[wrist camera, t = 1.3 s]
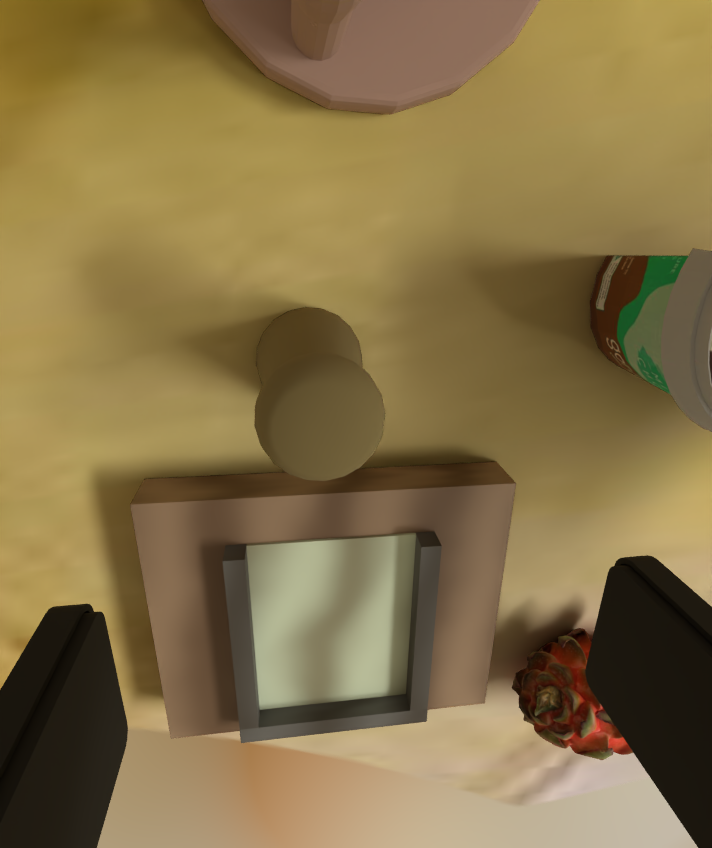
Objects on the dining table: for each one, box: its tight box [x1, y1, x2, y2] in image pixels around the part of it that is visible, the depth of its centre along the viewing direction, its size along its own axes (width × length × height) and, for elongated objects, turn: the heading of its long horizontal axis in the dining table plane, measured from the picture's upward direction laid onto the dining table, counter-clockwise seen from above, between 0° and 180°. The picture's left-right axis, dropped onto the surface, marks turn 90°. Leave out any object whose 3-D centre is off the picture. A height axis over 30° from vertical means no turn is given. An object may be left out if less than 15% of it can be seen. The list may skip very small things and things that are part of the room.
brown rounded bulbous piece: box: [255, 307, 385, 481], centre depth 24 cm, size 6×6×11 cm
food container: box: [590, 248, 712, 432], centre depth 26 cm, size 12×6×10 cm, turn 63°
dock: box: [130, 462, 516, 743], centre depth 33 cm, size 22×18×4 cm
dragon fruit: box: [512, 628, 633, 760], centre depth 37 cm, size 8×8×12 cm
